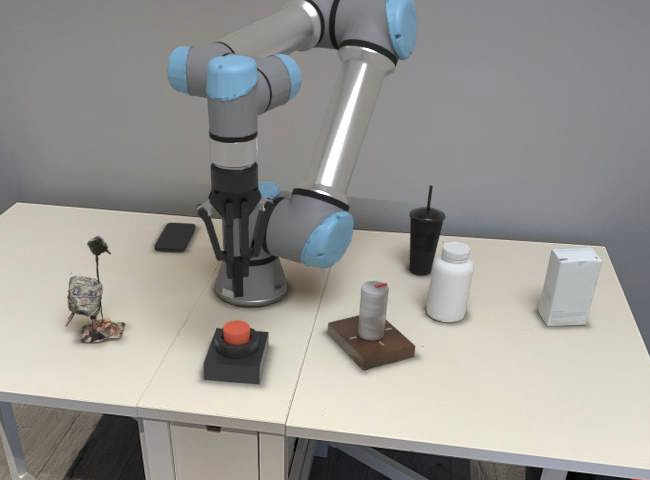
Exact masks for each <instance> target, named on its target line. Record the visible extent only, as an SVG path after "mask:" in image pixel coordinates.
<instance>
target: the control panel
mask: <svg viewBox="0 0 650 480" xmlns="http://www.w3.org/2000/svg"><path fill="white" fill-rule="evenodd" d="M358 323H359V314H358V315H355V316H350V317H347V318H342V319H338V320H334V321H330V322H327V335H328V336H330V338H331V339H332V340H333V341H334V342H335V343H336V344H337V345H338V346H339V347H340V348H341V349H342V350H343V351H344V352H345V353H346V354H347V355H348V356H349V358H351V359H352V360H353V361H354V363H355V364H356V365H357V366H358V367H359V368H360V369H361V370H362V371H366V370H370V369H374V368H378V367H382V366H386V365H390V364H393V363H396V362H401V361H404V360H408V359H411V358H414V357H415V354H416V345H415V344H414V343H413V342H412V341H411V340H410V339H409V338H407V336H405V335H404V334H403V333H402V332H401V331H400V330H398V329H397V328H396V327H395V325H393V324H392V323H391V322H390V321H388V320H387V319H386V321H385V331H384V336H383V338H381V339H379V340H375V341H370V340H365V339H363V338H361V337H360V336H359V335H358Z"/></svg>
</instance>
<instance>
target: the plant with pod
mask: <svg viewBox="0 0 650 480" xmlns="http://www.w3.org/2000/svg"><path fill="white" fill-rule="evenodd" d="M86 245H87V247H88V248H89V250H90V252H91V254H92V255H94V256H95V258H94V259H95V260H94V261H95V264H96V265H95V267H96V268H95V269H96V271H95V272H96V278H93V277H90V276H83V275H73V276H70V278H69V281H68V289H67V294H68V295H67V296H66V297H67V298H66V299H67V308H68V311H69V312H71V313H70V315H69V317H68V318H67V321H66V322H65V324H64V327H68V326H69V324H70V323H71V321H72V319H74V316H75V315H78V316H85V317H88V318H89V319H90V321H91V323H86V324H84V325H82V327H81V331H80V332H81V333H80V339H79V341H80V342H82V343H99V342H102V341H104V340H105V339H107V340H110V339H111V338H112V339H114V338H115V339H121V337H123V334H124V333H123V332H124V331H125V326H126V323H125V322H123V321H121V322H120V321H119V322H114V321H112V320H111V318H104V315H103V305H102V298H103V297H102V295H103V294H104V293H103V292H104V289H103V287H104V286H103V283H102V282H101V281H100V274H99V273H100V272H99V256H100V255H101V254H104V253H107V254H108V255H112V252H110V250H109V245H108V244H107V242H106V241H105V239H104V238H103V237H102V236H101V235H96V236H94V237H92V238H90V239H89V240H88V241H87V244H86ZM69 274H70V275H72V274H73V272H70V273H69ZM99 314H100V315H101V319H98V315H99Z"/></svg>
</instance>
